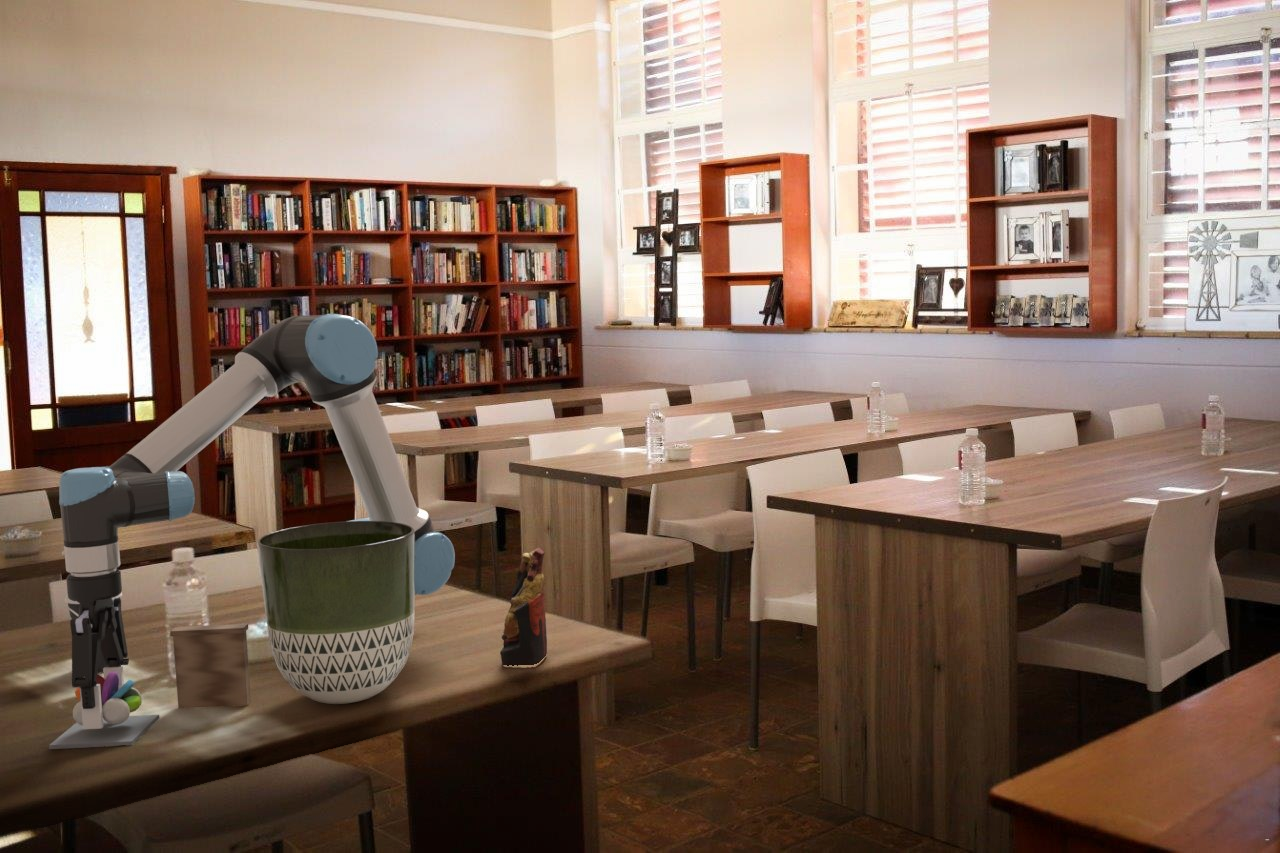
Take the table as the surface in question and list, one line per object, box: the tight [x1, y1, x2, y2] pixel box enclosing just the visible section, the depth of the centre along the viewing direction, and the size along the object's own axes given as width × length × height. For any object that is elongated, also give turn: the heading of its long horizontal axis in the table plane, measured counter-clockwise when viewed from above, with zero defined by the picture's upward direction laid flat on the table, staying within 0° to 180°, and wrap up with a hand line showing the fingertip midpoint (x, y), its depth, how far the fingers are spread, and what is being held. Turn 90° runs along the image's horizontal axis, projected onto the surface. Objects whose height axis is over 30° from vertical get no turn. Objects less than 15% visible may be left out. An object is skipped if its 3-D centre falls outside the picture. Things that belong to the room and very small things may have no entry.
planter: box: [256, 520, 416, 705], centre depth 203 cm, size 24×24×27 cm
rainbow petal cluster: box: [72, 672, 143, 726], centre depth 190 cm, size 8×10×7 cm
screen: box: [169, 623, 252, 710], centre depth 202 cm, size 12×3×13 cm, turn 93°
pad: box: [48, 714, 160, 750], centre depth 191 cm, size 12×12×1 cm
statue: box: [499, 547, 548, 666], centre depth 220 cm, size 12×8×20 cm, turn 168°
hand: (104, 717), depth 191 cm, fingers closed on rainbow petal cluster, 8 cm apart
